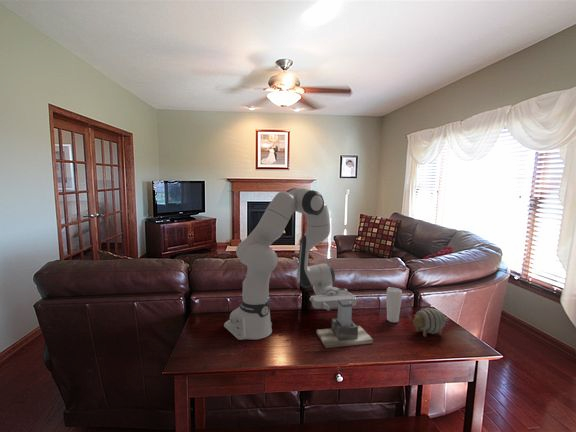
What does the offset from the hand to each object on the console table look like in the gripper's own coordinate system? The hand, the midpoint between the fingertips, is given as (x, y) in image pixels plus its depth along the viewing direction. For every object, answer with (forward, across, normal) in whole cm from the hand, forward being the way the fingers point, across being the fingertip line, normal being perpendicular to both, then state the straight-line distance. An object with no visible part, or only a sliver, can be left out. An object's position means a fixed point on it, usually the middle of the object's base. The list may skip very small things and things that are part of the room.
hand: (340, 308), depth 126 cm
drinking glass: (-6, +29, +11) cm, 32 cm away
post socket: (+5, 0, +11) cm, 12 cm away
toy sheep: (+8, +38, +11) cm, 41 cm away
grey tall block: (+5, 0, +9) cm, 11 cm away
